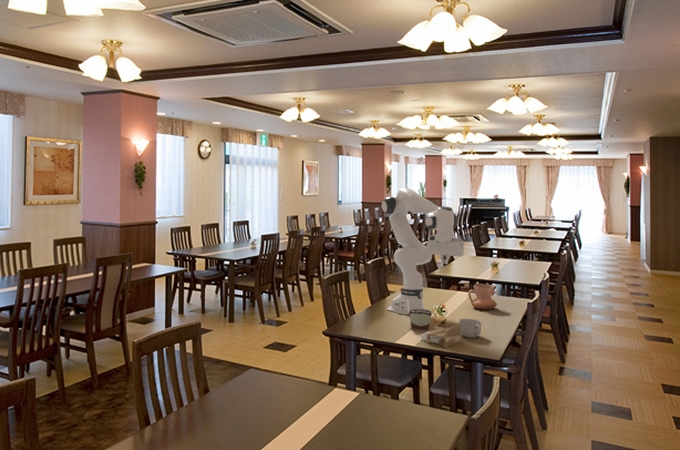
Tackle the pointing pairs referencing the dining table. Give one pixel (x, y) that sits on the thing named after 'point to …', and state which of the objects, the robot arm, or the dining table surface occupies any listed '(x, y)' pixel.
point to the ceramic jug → (483, 297)
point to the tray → (431, 338)
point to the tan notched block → (446, 335)
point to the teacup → (470, 327)
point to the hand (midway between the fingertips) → (444, 263)
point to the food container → (420, 319)
